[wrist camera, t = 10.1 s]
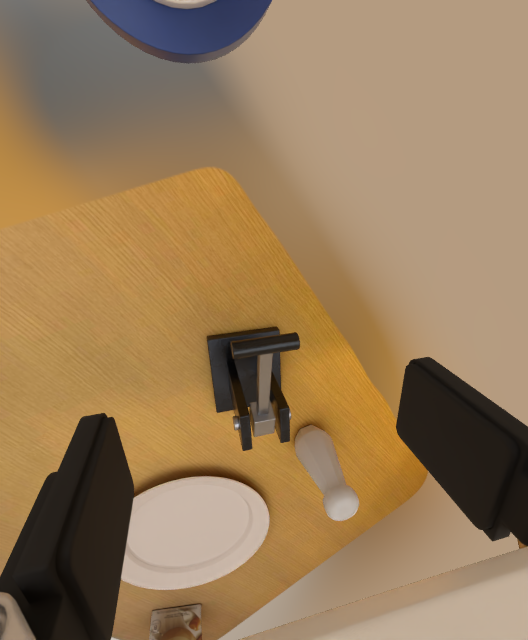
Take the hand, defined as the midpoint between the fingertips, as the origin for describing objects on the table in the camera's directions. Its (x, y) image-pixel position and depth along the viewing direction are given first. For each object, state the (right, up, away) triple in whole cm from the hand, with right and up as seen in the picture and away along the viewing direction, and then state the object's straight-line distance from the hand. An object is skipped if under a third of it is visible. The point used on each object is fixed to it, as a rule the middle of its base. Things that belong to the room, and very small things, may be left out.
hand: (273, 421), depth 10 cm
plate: (-12, -30, +42) cm, 53 cm away
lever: (-1, -2, +21) cm, 21 cm away
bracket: (-3, -3, +32) cm, 33 cm away
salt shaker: (+7, -15, +40) cm, 43 cm away
